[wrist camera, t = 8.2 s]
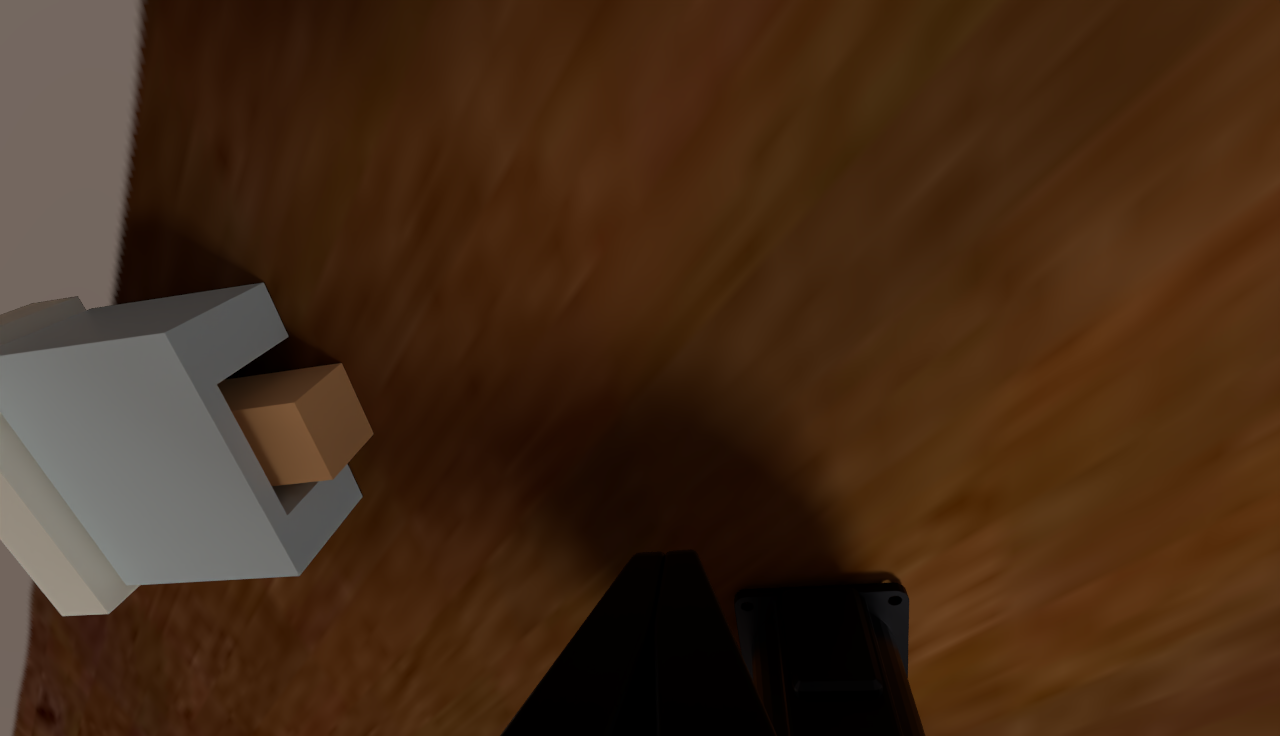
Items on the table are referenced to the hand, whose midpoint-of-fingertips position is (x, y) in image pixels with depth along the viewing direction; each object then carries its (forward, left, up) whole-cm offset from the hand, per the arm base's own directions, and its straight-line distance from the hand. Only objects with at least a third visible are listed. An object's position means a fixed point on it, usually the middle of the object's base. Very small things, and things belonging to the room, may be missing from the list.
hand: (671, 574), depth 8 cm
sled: (-2, +18, -12) cm, 22 cm away
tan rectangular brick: (-3, +16, -12) cm, 20 cm away
